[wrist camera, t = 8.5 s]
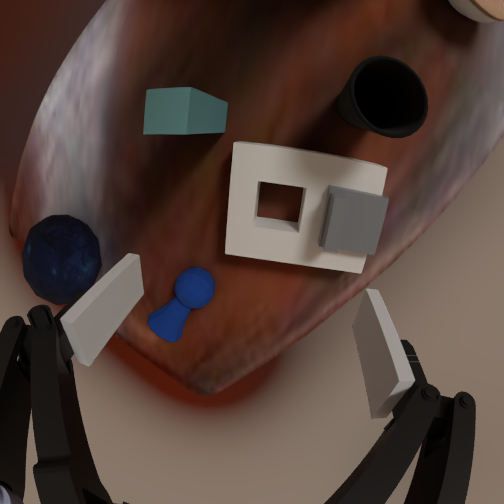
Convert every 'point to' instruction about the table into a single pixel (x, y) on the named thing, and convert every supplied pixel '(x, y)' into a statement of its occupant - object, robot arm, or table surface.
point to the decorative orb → (60, 258)
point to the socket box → (312, 205)
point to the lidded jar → (480, 9)
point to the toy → (182, 303)
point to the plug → (183, 112)
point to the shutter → (352, 220)
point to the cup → (384, 98)
